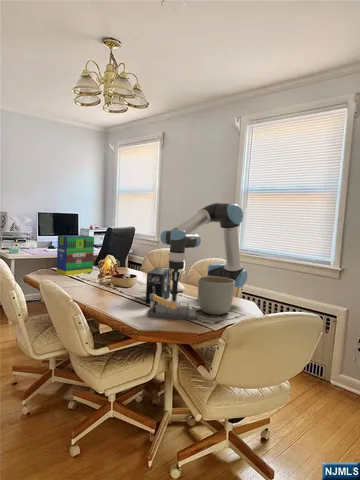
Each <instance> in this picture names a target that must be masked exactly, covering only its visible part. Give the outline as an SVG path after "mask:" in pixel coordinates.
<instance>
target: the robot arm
mask: <svg viewBox="0 0 360 480" xmlns="http://www.w3.org/2000/svg"><path fill="white" fill-rule="evenodd" d="M243 212H244V211H243V209H242V207H241V206H240V205H238V204H236V203H221V202H214V203H211V204H208V205H206V206H204V207H202V208H200V209H199V210H198V211H197V213H196V214H194V215H192V216H191V217H190V218H188V219H187V220H185V221H183V222H182V223H180V224H179V225H177V226H176V227H174V228H172V229H171V230H163V231H162V232H161V234H160V241H161V243H162V244H165V245H167V246H169V253H167V256H168V257H169V258H168V260H169V259H170V261H169V262H168V268H170V269H171V282H172V284H173V285H172V284H171V285H172V290H171V292H170V295H171V297H170V299H171V300H170V301H171V302H172V303H175V304H176V303H177V302H178V301H177V299H178V294H179V291H177V286H178V281H179V282H180V275H181V273H180V272H178V271H180V270H183V269H184V267H185V262H184V261H185V255H186V254H185V251H186V250H185V249H195V248H198V247H199V246H200V245H201V242H202V241H201V237H200V235H199V234H198V233H195V231H196V230H198V229H199V228H201V227H202V226H204V225H208V224H210V223H219V224H220V225H219V227H220V228H221V229H222V232H223V240H224V242H223V243H224V251H225V261H226V263H212V264H209V265H208V266H207V267H208V268H207V275H206V276H219V277H226V278H230V279H233V280H234V281H235V287H234V288H238V289H241V288H243V287H244V286H245V284H246V282H247V279H248V272H247V270H246V269H244V265H243V264H242V263H241V255H240V254H241V253H240V244H239V231H238V228H239V227H240V225H241V224H242V222H243V219H244V213H243Z"/></svg>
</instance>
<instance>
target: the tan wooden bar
mask: <svg viewBox="0 0 360 480" xmlns="http://www.w3.org/2000/svg"><path fill="white" fill-rule="evenodd" d="M149 299H150V300H155V301H157V302H159V303H161V304H163V305H165V306H168V307H170V308H172V309H176V306H177V304H175V303H172V302H170V301H171V300H168V299H163V298H161V297H159V296H157V295H156V294H150V297H149Z"/></svg>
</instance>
